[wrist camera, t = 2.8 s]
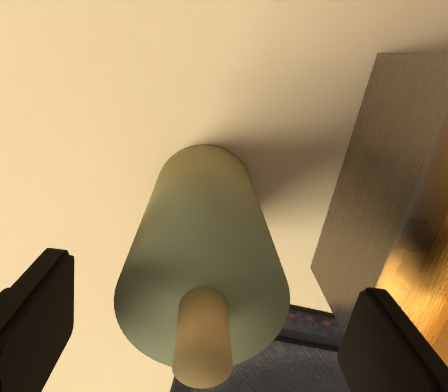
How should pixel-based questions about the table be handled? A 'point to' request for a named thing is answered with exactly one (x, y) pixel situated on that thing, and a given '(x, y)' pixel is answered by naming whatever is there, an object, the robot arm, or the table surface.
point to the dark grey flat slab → (290, 359)
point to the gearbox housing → (394, 198)
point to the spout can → (202, 271)
